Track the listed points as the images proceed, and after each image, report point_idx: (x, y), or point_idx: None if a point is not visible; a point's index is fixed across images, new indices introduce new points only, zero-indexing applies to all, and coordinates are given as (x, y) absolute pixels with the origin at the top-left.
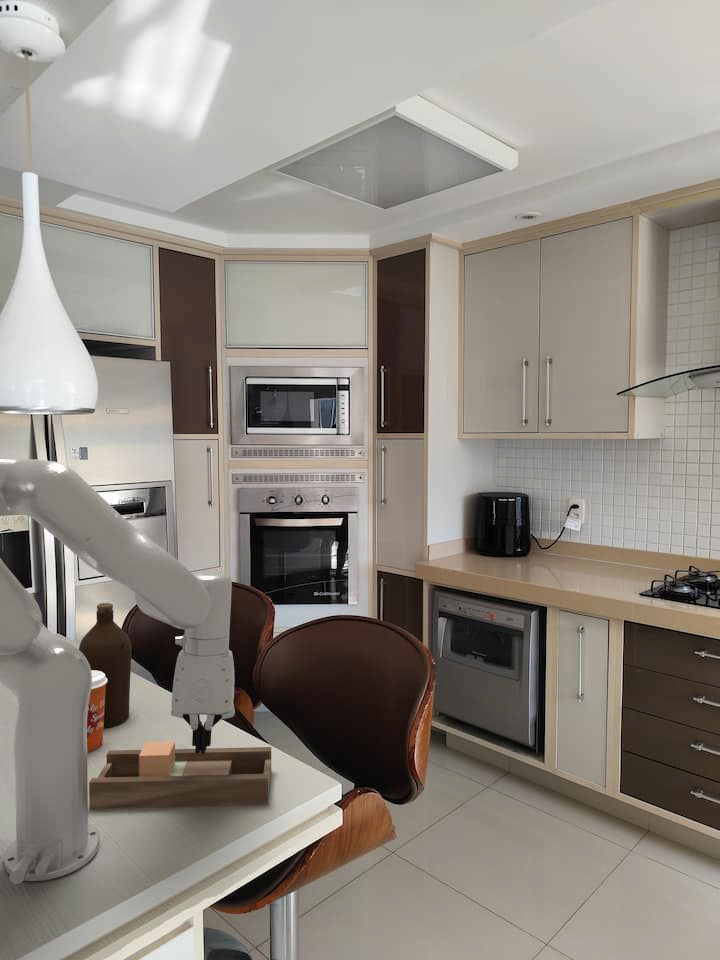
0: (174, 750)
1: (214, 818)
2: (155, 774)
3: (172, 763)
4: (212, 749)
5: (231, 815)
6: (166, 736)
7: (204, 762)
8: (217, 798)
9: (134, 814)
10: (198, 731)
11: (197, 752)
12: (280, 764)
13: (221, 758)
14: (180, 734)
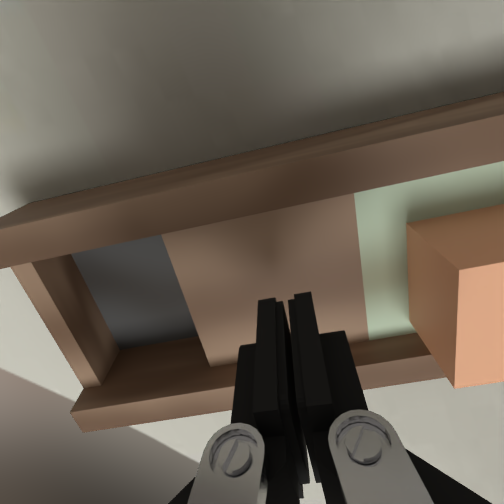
0: (435, 351)
1: (163, 81)
2: (473, 216)
3: (418, 295)
4: None
5: (112, 113)
6: (468, 466)
7: None
8: (184, 171)
9: (481, 48)
10: (312, 400)
11: (298, 294)
12: None
13: None
14: None
